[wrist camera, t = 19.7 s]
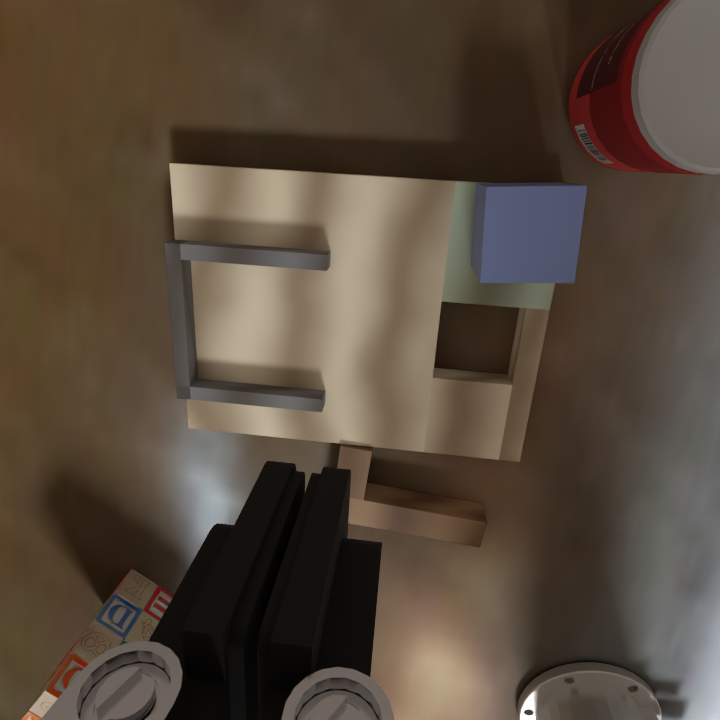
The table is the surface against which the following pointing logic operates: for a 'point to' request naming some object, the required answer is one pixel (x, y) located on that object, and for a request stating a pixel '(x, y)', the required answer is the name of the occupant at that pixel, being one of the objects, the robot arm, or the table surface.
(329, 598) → the robot arm
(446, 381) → the board
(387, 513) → the walnut crook
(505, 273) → the indigo block
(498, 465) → the table surface
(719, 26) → the canned food
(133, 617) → the stack of blocks
